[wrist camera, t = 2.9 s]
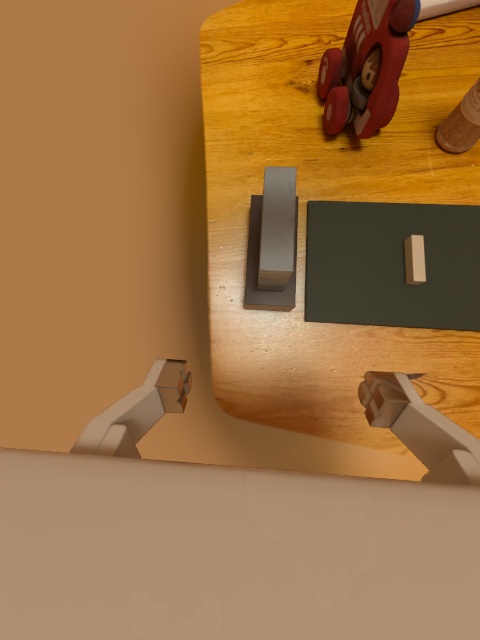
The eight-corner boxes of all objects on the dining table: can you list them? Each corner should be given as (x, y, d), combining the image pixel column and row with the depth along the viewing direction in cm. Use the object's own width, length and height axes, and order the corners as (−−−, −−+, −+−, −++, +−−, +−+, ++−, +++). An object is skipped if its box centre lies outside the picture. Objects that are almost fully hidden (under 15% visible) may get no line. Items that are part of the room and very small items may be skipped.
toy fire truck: (327, 156, 28) (372, 41, 18) (313, 72, 30) (345, -75, 20) (386, 149, 28) (465, 29, 18) (368, 65, 30) (429, -87, 20)
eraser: (290, 311, 25) (309, 291, 18) (244, 309, 26) (242, 287, 18) (294, 210, 27) (311, 150, 19) (251, 209, 28) (251, 149, 20)
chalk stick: (417, 285, 25) (426, 281, 24) (406, 284, 25) (413, 280, 24) (415, 240, 26) (423, 235, 24) (404, 240, 26) (411, 234, 24)
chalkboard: (585, 337, 24) (592, 337, 23) (304, 321, 25) (305, 320, 25) (564, 210, 26) (570, 208, 25) (307, 203, 27) (308, 200, 27)
